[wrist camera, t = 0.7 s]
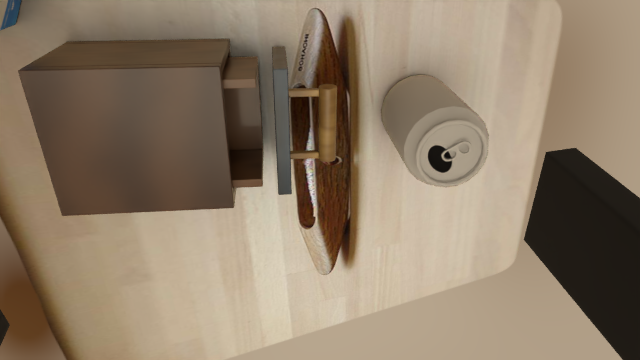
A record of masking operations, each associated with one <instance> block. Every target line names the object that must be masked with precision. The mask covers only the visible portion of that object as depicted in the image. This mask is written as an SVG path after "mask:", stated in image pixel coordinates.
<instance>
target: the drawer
mask: <svg viewBox="0 0 640 360" xmlns="http://www.w3.org/2000/svg"><path fill="white" fill-rule="evenodd" d="M272 58H273V87H274V108H275V130H276V152H277V173H278V194H279V195H284V194H292V190H291V159H307V158H319V160H321V161H323V162H331V161H334V160H335V158H336V110H337V86H336V85H333V84H323V85H320V86H319V89H318V88H299V89H288V67H287V59H286V51H285V47H272ZM222 80H223V90H224V100H225V110H226V120H227V131H228V141H229V151H230V161H231V171H232V182H233V188H237V187H260V186H263V153H264V152H263V135H262V119H261V102H260V86H259V69H258V57H257V56H254V57H227V59H226V62H225V65H224V68H223V72H222ZM312 96H319V151H318V150H309V151H290V125H289V97H312Z"/></svg>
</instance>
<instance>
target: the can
mask: <svg viewBox="0 0 640 360" xmlns="http://www.w3.org/2000/svg"><path fill="white" fill-rule="evenodd" d="M381 115H382V122H383V125H384V127H385V129H386V131H387V133H388V135H389V136H390V138H391V140H392V142H393V144H394V145H395V147H396V149H397V151H398V152H399V154H400V156H401V158H402V160H403V161H404V163H405V165H406V167H407V168H408V170H409V171H410V173H411V174H412V175H413V176H414V177H415V178H416V179H418V180H420V181H422V182H424V183H426V184H430V185H434V186H439V187H452V186H457V185H460V184H462V183H464V182H467V181H468V180H470V179H471V178H472V177H473V176H475V175H476V174H477V173H478V172H479V170H480V169H481V168H482V166H483V165H484V163H485V160H486V158H487V155H488V139H489V134H488V131H487V128H486V125H485V123H484V122H483V120H482V119H481V118H480V117H479V116H478V114H477V113H475V112H474V111H473V110H472V109H471V108H470V107H469V106H468V105H467V104H466V103H465V102H463V101H462V100H461V99H460V98H459V97H458V96H457V95H456V94H455V93H454V92H453V91H451V90H450V89H449V88H448V87H447V86H446V85H445V84H444V83H443V82H442V81H440V80H438V79H436V78H434V77H433V76H427V75H415V76H410V77H407V78H405V79H403V80H401V81H399V82H398V83H397V84H396V85H395V86H394V87H392V88H391V89H390V91H389V92H388V94H387V95H386V97H385V99H384V101H383V105H382V109H381Z"/></svg>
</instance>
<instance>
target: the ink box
mask: <svg viewBox="0 0 640 360" xmlns="http://www.w3.org/2000/svg"><path fill="white" fill-rule="evenodd" d="M20 4H21V0H0V30H2V29H5V28H7V27H10V26H12V25H15V24H16V21H17V17H18V13H19V8H20Z"/></svg>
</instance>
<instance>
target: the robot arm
mask: <svg viewBox="0 0 640 360" xmlns="http://www.w3.org/2000/svg"><path fill="white" fill-rule="evenodd" d="M524 240H525V242H526V243H527V244H528V245H529V246H530V248H531V249H532V250H533V251H534V252H535V254H536V255H537V256H538V257H539V259H540V260H541V261H542V262H543V263H544V265H545V266H546V267H547V268H548V269H549V271H550V272H551V273H552V274H553V276H554V277H555V278H556V279H557V280H558V281H559V283H560V284H561V285H562V286H563V288H564V289H565V290H566V291H567V292H568V294H569V295H570V296H571V297H572V299H573V300H574V301H575V302H576V303H577V305H578V306H579V307H580V308H581V309H582V311H583V312H584V313H585V314H586V316H587V317H588V318H589V319H590V320H591V322H592V323H593V324H594V325H595V326H596V328H597V329H598V330H599V331H600V332H601V334H602V335H603V336H604V337H605V338H606V340H607V341H608V342H609V343H610V345H611V346H612V347H613V348H614V349H615V351H616V352H617V353H618V354H619V355H620V357H621V358H622V359H623V360H640V198H639V197H638V196H636V195H635V194H634V193H632V192H631V191H630V190H629V189H627V188H626V187H625V186H624V185H622V184H621V183H620V182H618V181H617V180H616V179H615V178H613V177H612V176H611V175H609V174H608V173H607V172H605V171H604V170H603V169H602V168H600V167H599V166H598V165H597V164H595V163H594V162H593V161H591V160H590V159H589V158H588V157H586V156H585V155H584V154H582V153H581V152H580V151H579V150H577V149H576V148H571V149H564V150H557V151H551V152H546V155H545V158H544V162H543V167H542V170H541V174H540V178H539V182H538V186H537V190H536V194H535V198H534V202H533V206H532V210H531V214H530V218H529V222H528V226H527V229H526V233H525V237H524ZM8 328H9V323H8V321H7V320H6V318H5V316H4V315H3V313H2V312H1V310H0V345H1V343H2V341H3V339H4V336H5V334H6V332H7V330H8Z"/></svg>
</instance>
